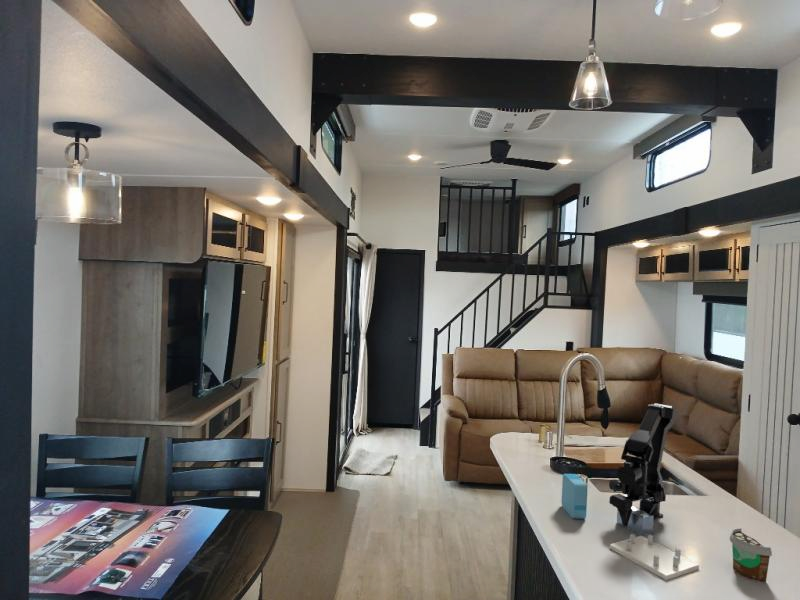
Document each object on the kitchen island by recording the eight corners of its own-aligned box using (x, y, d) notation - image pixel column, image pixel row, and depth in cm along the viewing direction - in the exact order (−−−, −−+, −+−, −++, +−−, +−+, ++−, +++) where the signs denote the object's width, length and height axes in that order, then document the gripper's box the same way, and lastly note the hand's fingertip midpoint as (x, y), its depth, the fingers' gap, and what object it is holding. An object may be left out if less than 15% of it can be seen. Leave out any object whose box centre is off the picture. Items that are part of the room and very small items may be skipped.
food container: (718, 561, 158) (720, 527, 158) (737, 561, 158) (739, 527, 158) (748, 585, 146) (750, 548, 145) (770, 584, 146) (772, 548, 146)
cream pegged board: (641, 539, 170) (641, 527, 170) (698, 568, 153) (699, 556, 153) (609, 548, 163) (610, 536, 163) (666, 580, 147) (667, 566, 146)
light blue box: (586, 520, 182) (588, 485, 182) (573, 520, 182) (574, 484, 182) (573, 505, 194) (575, 472, 194) (561, 505, 194) (562, 472, 194)
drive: (627, 520, 184) (628, 502, 183) (652, 533, 175) (653, 514, 174) (616, 523, 181) (617, 504, 181) (641, 536, 172) (642, 517, 172)
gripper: (635, 465, 189) (633, 509, 189) (597, 472, 180) (595, 518, 181) (664, 476, 179) (661, 522, 180) (625, 484, 170) (622, 533, 171)
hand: (634, 523), depth 178 cm, fingers open, 9 cm apart
